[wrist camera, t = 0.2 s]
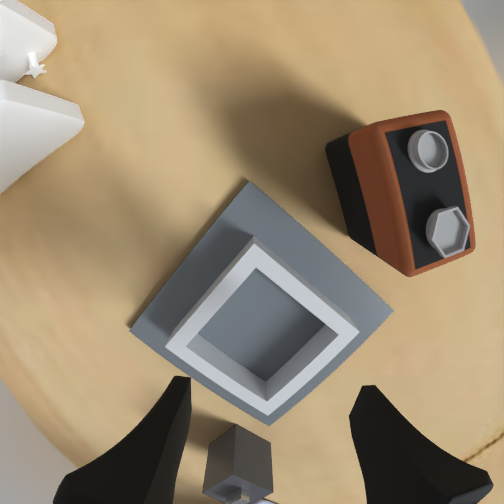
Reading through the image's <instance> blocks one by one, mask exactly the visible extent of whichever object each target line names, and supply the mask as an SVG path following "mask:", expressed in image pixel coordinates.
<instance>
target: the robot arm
mask: <svg viewBox="0 0 504 504" xmlns="http://www.w3.org/2000/svg"><path fill="white" fill-rule="evenodd" d="M191 410H192V407H191V378H190V377H183V376H174V377H173V379H172V380H171V382H170V384H169V385H168V387H167V389H166V390H165V392H164V393H163V394H162V396H161V397H160V399H159V400H158V401H157V403H156V404H155V405H154V406H153V408H152V409H151V410H150V411H149V413H148V414H147V415H146V416H145V417H144V418H143V419H142V421H141V422H140V423H139V424H138V425H137V426H136V427H135V428H134V429H133V430H132V431H131V432H130V433H129V434H128V435H127V436H126V437H124V438H123V439H122V440H121V441H120V442H119V443H117V444H116V445H115V446H114V447H112V448H111V449H110V450H108V451H107V452H106V453H104V454H103V455H101V456H100V457H98V458H97V459H95V460H93V461H92V462H90V463H89V464H87V465H85V466H83V467H81V468H79V469H77V470H75V471H74V472H71V473H69V474H67V475H66V476H65V477H64V479H63V480H62V482H61V484H60V485H59V488H58V490H57V492H56V495H55V497H54V500H53V504H173V496H174V489H175V482H176V477H177V472H178V468H179V464H180V461H181V457H182V453H183V450H184V446H185V442H186V438H187V434H188V431H189V424H190V417H191ZM349 420H350V428H351V434H352V438H353V442H354V446H355V449H356V453H357V456H358V460H359V463H360V467H361V470H362V474H363V478H364V483H365V490H366V498H367V504H477V503H478V502H479V501H480V500H481V499H483V498H484V497H485V496H486V495H487V494H488V493H489V492H490V491H491V490H492V488H493V483H492V481H491V479H490V477H489V474H488V472H487V471H485V470H483V469H480V468H477V467H475V466H472V465H470V464H468V463H466V462H464V461H461V460H459V459H458V458H456V457H454V456H452V455H450V454H449V453H447V452H446V451H444V450H443V449H441V448H440V447H438V446H437V445H435V444H434V443H433V442H431V441H430V440H429V439H427V438H426V437H425V436H424V435H423V434H421V433H420V432H419V431H418V430H417V429H416V428H415V427H414V426H413V425H412V424H411V423H410V422H409V421H408V420H407V419H406V418H405V417H404V416H403V415H402V414H401V413H400V412H399V411H398V410H397V409H396V408H395V407H394V406H393V405H392V403H391V402H390V401H389V400H388V399H387V398H386V397H385V396H384V395H383V393H382V392H381V391H380V390H379V389H378V388H377V387H376V386H375V385H367V386H362V388H361V390H360V392H359V395H358V397H357V399H356V402H355V404H354V406H353V408H352V411H351V413H350V415H349ZM253 504H275V503H272V502H269V501H267V500H259V501H257V502H255V503H253Z"/></svg>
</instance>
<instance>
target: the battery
mask: <svg viewBox="0 0 504 504" xmlns="http://www.w3.org/2000/svg"><path fill="white" fill-rule="evenodd" d="M325 150H326V154H327V158H328V161H329V164H330V168H331V171H332V175H333V178H334V181H335V185H336V188H337V192H338V196H339V199H340V203H341V207H342V210H343V214H344V218H345V222H346V226H347V230H348V234H349V236H350V238H351V239H352V240H354V241H355V242H357V243H358V244H360V245H361V246H363V247H364V248H366V249H367V250H369V251H370V252H372V253H373V254H375V255H376V256H377V257H379V258H380V259H382V260H383V261H385V262H386V263H388V264H389V265H391V266H392V267H394V268H395V269H396V270H398V271H399V272H401V273H402V274H404V275H405V276H407V277H412V276H415V275H418V274H420V273H423V272H426V271H428V270H431V269H433V268H436V267H438V266H441V265H443V264H446V263H448V262H451V261H453V260H456V259H458V258H460V257H463V256H465V255H468V254H470V253H471V252H473V251H474V249H475V232H474V224H473V217H472V210H471V203H470V197H469V192H468V186H467V181H466V176H465V171H464V166H463V162H462V157H461V153H460V149H459V145H458V141H457V137H456V133H455V130H454V126H453V123H452V120H451V117H450V115H449V114H448V113H447V112H446V111H443V110H437V111H431V112H425V113H419V114H414V115H409V116H403V117H398V118H393V119H388V120H384V121H379V122H375V123H372V124H370V125H367V126H365V127H363V128H360V129H358V130H356V131H353V132H351V133H349V134H347V135H344V136H342V137H340V138H337V139H335V140H333V141H331V142H329V143H328V144H327V145H326V148H325Z"/></svg>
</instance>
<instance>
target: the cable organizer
mask: <svg viewBox="0 0 504 504" xmlns="http://www.w3.org/2000/svg"><path fill="white" fill-rule="evenodd" d="M56 44H57V36H56V32H55V28H54V25H53V24H52V23H51V22H50V21H48V20H47V19H45V18H44V17H42V16H41V15H39V14H37V13H36V12H34V11H33V10H31V9H30V8H28V7H27V6H25V5H23V4H22V3H20V2H19V1H17V0H0V194H1V193H2V192H4V191H5V190H6V189H7V188H8V187H9V186H11V185H12V184H13V183H14V182H15V181H16V180H18V179H19V178H20V177H21V176H22V175H24V174H25V173H26V172H27V171H29V170H30V169H31V168H32V167H34V166H35V165H36V164H38V163H39V162H40V161H42V160H43V159H44V158H45V157H47V156H48V155H49V154H51V153H52V152H54V151H55V150H56V149H58V148H59V147H60V146H62V145H63V144H65V143H66V142H68V141H69V140H70V139H72V138H73V137H74V136H76V135H77V134H78V133H79V132H80V131H81V129H82V128H83V126H84V124H85V122H84V119H83V116H82V113H81V110H80V107H79V105H77V104H75V103H73V102H70V101H67V100H64V99H61V98H59V97H56V96H53V95H50V94H47V93H44V92H41V91H38V90H35V89H32V88H29V87H26V86H23V85H19V84H16V82H17V81H18V80H20V79H21V78H22V77H23V76H24V75H32V76H33V78H34V79H35V78H36V77H37V75H38V74H41V73H48V72H46V71H44V70H43V67H44V65H45V64H42V65H40V66H39V63H40V62H41V61H43V60H44V59H45V58H46V57H47V56H48V55H49V54H50V53H51V52H52V51H53V50H54V48H55V46H56Z"/></svg>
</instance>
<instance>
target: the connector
mask: <svg viewBox="0 0 504 504" xmlns="http://www.w3.org/2000/svg"><path fill="white" fill-rule="evenodd" d="M202 493H203V494H205V495H207V496H210V497H212V498H214V499H217V500H219V501H221V502H224V503H225V504H253V503H254V502H256V501H258V500H260V499H262V498H264V497H266V496H267V495H269V494H271V493H273V475H272V458H271V443H270V442H268V441H266V440H265V439H263V438H261V437H259V436H257V435H255V434H254V433H252V432H250V431H248V430H246V429H245V428H243V427H241V426H239V425H238V424H235V425H234V426H233V427H232V428H230V429H229V430H228V431H227V432H225V433H224V434H223V435H221V436H220V437H219V438H218V439H216V440H215V441H214V442H212V443H211V444H210V445H209V450H208V457H207V464H206V470H205V477H204V484H203V491H202Z"/></svg>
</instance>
